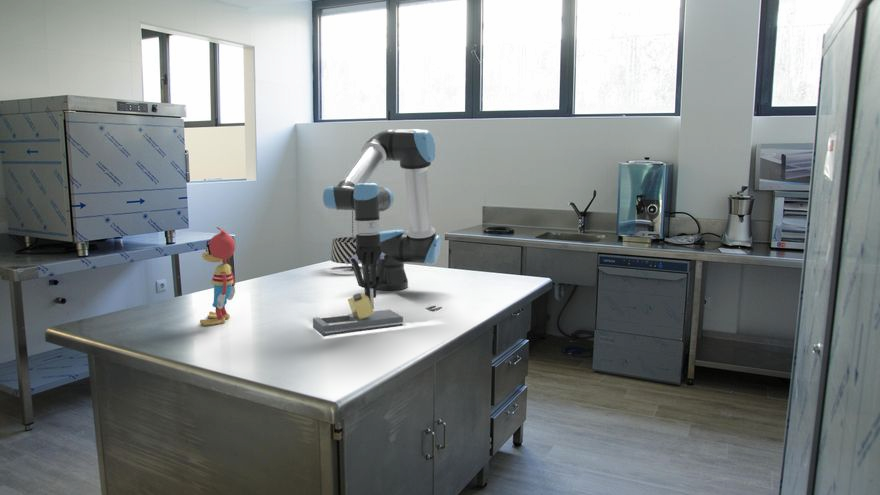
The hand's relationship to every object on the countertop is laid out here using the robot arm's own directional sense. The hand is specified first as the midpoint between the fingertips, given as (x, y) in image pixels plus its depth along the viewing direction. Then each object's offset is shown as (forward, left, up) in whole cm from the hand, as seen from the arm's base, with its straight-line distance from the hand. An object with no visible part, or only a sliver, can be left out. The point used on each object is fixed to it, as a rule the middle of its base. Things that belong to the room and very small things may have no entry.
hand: (370, 308), depth 191 cm
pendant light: (-29, -93, -6) cm, 98 cm away
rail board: (+4, -1, -6) cm, 7 cm away
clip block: (+2, 0, -2) cm, 3 cm away
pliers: (-21, -9, -6) cm, 24 cm away
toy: (+41, -26, -6) cm, 49 cm away
